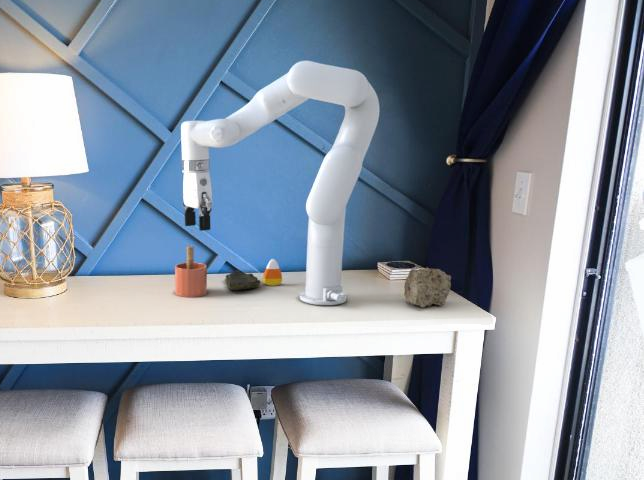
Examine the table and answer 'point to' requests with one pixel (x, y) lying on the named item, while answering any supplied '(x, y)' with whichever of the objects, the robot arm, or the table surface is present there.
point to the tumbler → (190, 280)
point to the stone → (241, 280)
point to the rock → (427, 287)
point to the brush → (190, 257)
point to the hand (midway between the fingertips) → (197, 227)
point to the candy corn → (272, 274)
